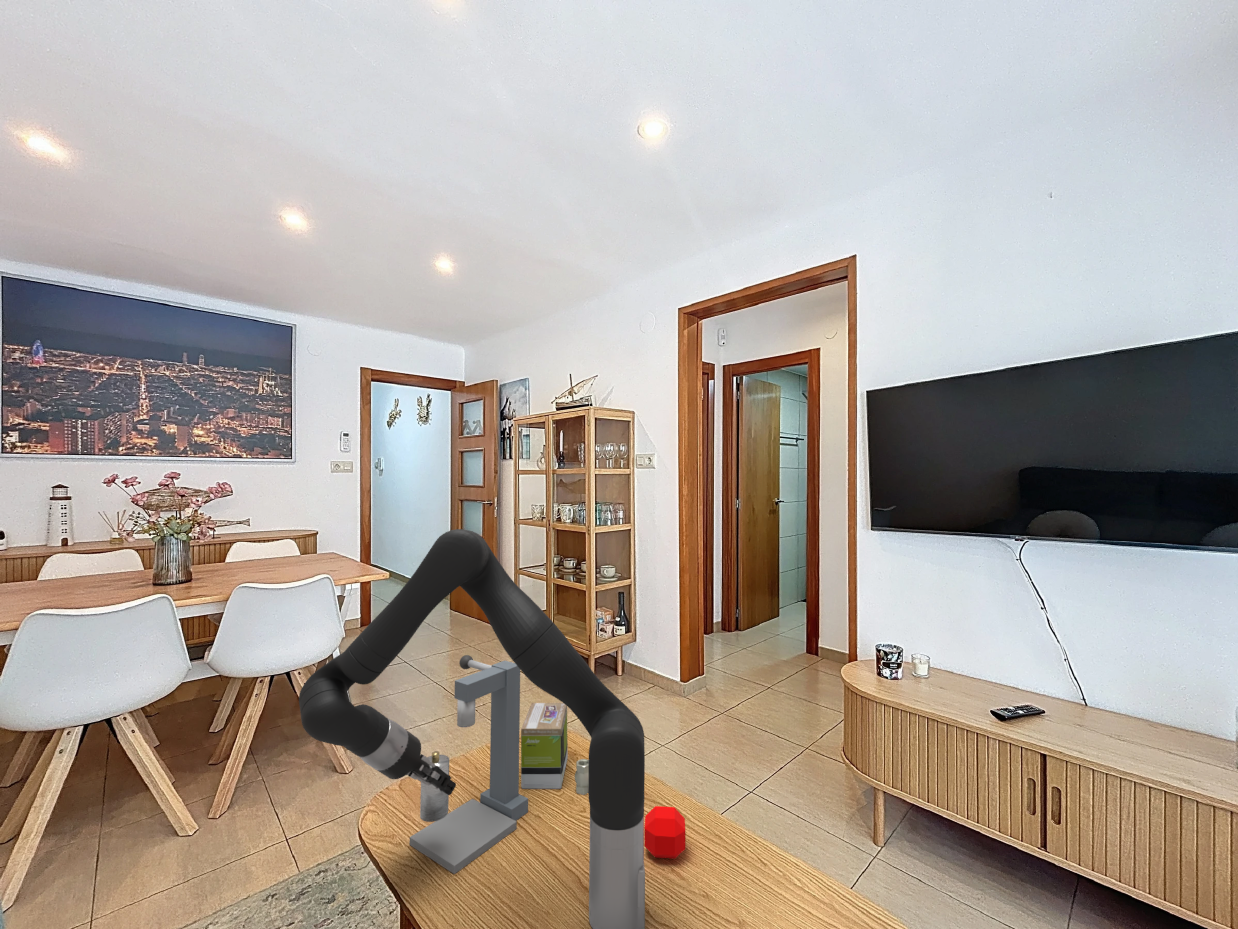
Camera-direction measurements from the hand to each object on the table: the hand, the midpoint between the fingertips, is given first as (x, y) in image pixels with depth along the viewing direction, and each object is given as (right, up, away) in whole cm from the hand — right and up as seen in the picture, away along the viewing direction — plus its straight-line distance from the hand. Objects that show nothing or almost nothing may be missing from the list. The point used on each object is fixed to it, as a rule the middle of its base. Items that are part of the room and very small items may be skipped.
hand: (442, 784), depth 106 cm
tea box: (+16, -15, +29) cm, 36 cm away
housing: (-1, -5, -2) cm, 5 cm away
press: (+1, -13, +9) cm, 16 cm away
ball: (+44, -14, 0) cm, 46 cm away
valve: (+30, -14, +20) cm, 39 cm away
